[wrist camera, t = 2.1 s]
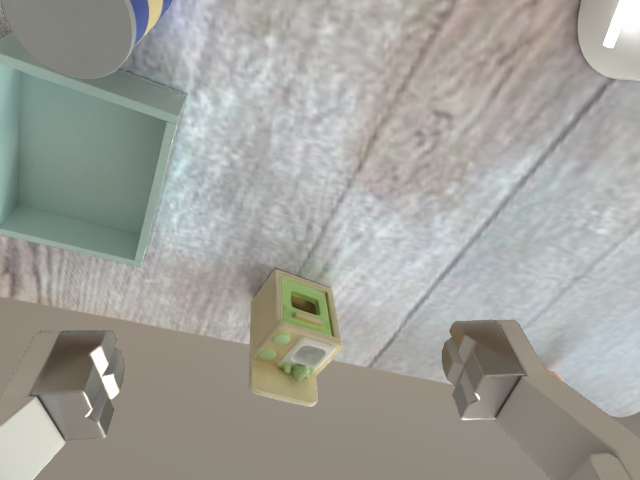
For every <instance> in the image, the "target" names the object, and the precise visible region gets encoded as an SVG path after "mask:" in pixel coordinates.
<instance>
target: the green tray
mask: <svg viewBox="0 0 640 480" xmlns="http://www.w3.org/2000/svg"><path fill="white" fill-rule="evenodd" d="M187 97H188V94H186V93H183V92H180V91H178V90H175V89H172V88H169V87H167V86H164V85H161V84H159V83H156V82H153V81H150V80H148V79H145V78H142V77H140V76H137V75H134V74H131V73H129V72H126V71H123V70H121V69H117V70H116V71H114V72H113V73H111V74H109V75H106V76H104V77H99V78H92V79H84V78H76V77H71V76H68V75H64V74H62V73H60V72H57V71H55V70H53V69H51V68H49V67H48V66H46V65H45V64H43V63H42V62H40V61H39V60H38V59H36V58H35V57H34V56H33V55H32V54H31V53H30V52H29V51H28V50H26V48H25V47H24V46H23V45H22V44H21V43H20V41H19V40H18V39H17V37H16V36H15V35H14V33H13V32H11V33H9V34H7V35H5V36H3V37H2V38H0V235H4V236H9V237H13V238H17V239H21V240H26V241H30V242H34V243H38V244H43V245H47V246H51V247H55V248H60V249H64V250H68V251H72V252H77V253H81V254H85V255H89V256H94V257H98V258H102V259H106V260H110V261H115V262H119V263H123V264H127V265H132V266H136V267H140V268H141V267H142V264H143V261H144V259H145V256H146V253H147V250H148V247H149V244H150V242H151V239H152V235H153V231H154V227H155V223H156V219H157V215H158V211H159V207H160V203H161V199H162V195H163V191H164V187H165V183H166V180H167V176H168V172H169V168H170V164H171V160H172V156H173V152H174V148H175V144H176V140H177V136H178V132H179V128H180V124H181V120H182V116H183V112H184V108H185V104H186V101H187Z"/></svg>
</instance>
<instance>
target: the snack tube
mask: <svg viewBox="0 0 640 480" xmlns="http://www.w3.org/2000/svg"><path fill="white" fill-rule="evenodd" d="M171 1H172V0H1V4H2V9H3V12H4V14H5V17H6V20H7V22H8V24H9V26H10V28H11V29H12V31H13V33H14V35H15V36H16V37H17V39H18V40H19V41H20V43H21V44H22V45H23V46H24V47H25V48H26V50H28V51H29V52H30V53H31V54H32V55H33V56H34V57H35V58H36V59H38V60H39V61H40V62H42V63H43V64H45V65H46V66H48V67H49V68H51V69H53V70H55V71H57V72H60V73H62V74H64V75H68V76H71V77H76V78H84V79H92V78H99V77H104V76H106V75H109V74H111V73H113V72H114V71H116V70H117V69H118V68H119V67H121V65H122V64H123V63H124V62H125V61H126V60H127V59H128V57H129V55H130V54H131V52H132V50H133V47H134V46H136V45H137V44H138V43H139V42H140V41H141V40H142V39H143V37H144V36H145V35H146V34H147V33H148V32H149V31H150V29H151V28H152V27H153V26H154V25H155V24H156V22H157V21H158V19H159V18H160V17H161V16H162V15H163V14H164V13H165V11H166V10H167V9H168V7H169V6H170V4H171Z"/></svg>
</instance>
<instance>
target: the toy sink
mask: <svg viewBox="0 0 640 480" xmlns="http://www.w3.org/2000/svg"><path fill="white" fill-rule="evenodd" d="M342 348H343V343H342V340H341V338H340V333H339V327H338V321H337V315H336V309H335V304H334V298H333V292H332V289H330V288H328V287H325V286H323V285H320V284H317V283H314V282H311V281H309V280H306V279H303V278H300V277H298V276H295V275H292V274H289V273H287V272H284V271H281V270H278V269H274V270H273V272H272V273H271V274H270V276H269V277H268V279H267V280H266V282H265V283H264V284H263V286H262V287H261V289H260V290H259V291H258V293H257V294H256V296H255V297H254V299H253V300H252V304H251V326H250V357H249V358H250V359H249V360H250V361H249V389H250V391H251V392H253V393H254V394H257V395H260V396H264V397H268V398H272V399H277V400H281V401H285V402H289V403H293V404H298V405H302V406H308V407H311V406H314V405H315V404H316V402H317V400H318V394H317V384H316V376H317V375H318V374H319V373H320V372H321V370H323V368H324V367H325V366H326V365H327V364H328V363H329V362H330V361H331V360H332V359H333V358H334V357H335V356H336V355H337V354H338V353H339V352H340V351H341V350H342Z"/></svg>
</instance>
